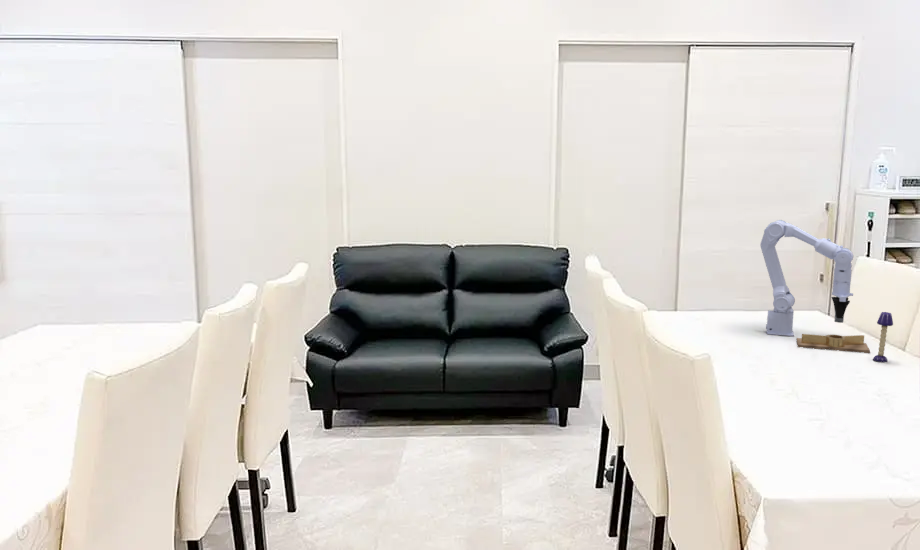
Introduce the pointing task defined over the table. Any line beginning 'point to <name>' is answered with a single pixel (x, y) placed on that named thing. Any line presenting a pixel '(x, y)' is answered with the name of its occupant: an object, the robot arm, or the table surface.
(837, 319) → the pin
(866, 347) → the board
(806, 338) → the hinge
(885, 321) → the toy lamp
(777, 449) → the table surface
